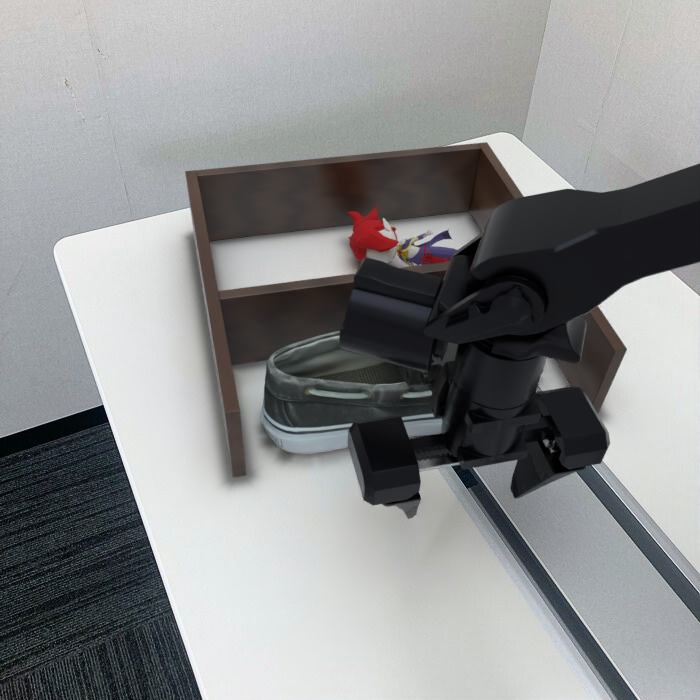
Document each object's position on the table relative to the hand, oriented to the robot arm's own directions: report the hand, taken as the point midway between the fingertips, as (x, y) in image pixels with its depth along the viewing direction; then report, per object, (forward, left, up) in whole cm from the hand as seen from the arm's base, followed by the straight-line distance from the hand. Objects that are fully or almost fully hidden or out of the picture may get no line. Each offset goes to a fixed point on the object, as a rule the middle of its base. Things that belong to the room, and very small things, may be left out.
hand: (462, 503), depth 62 cm
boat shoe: (0, -13, -3) cm, 13 cm away
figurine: (-5, -33, -3) cm, 34 cm away
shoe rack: (0, -26, -3) cm, 26 cm away
